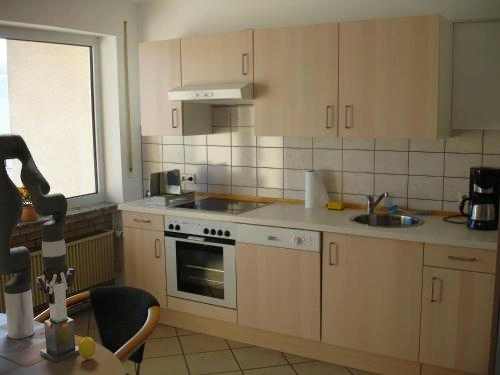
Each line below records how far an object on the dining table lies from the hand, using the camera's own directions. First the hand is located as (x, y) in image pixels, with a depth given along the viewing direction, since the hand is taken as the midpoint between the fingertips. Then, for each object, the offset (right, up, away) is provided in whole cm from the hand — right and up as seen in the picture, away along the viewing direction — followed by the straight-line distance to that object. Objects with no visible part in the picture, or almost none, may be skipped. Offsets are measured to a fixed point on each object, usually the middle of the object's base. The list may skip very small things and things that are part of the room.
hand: (57, 301), depth 185 cm
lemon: (+11, -19, -2) cm, 22 cm away
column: (0, -12, +2) cm, 12 cm away
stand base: (0, -18, +3) cm, 19 cm away
